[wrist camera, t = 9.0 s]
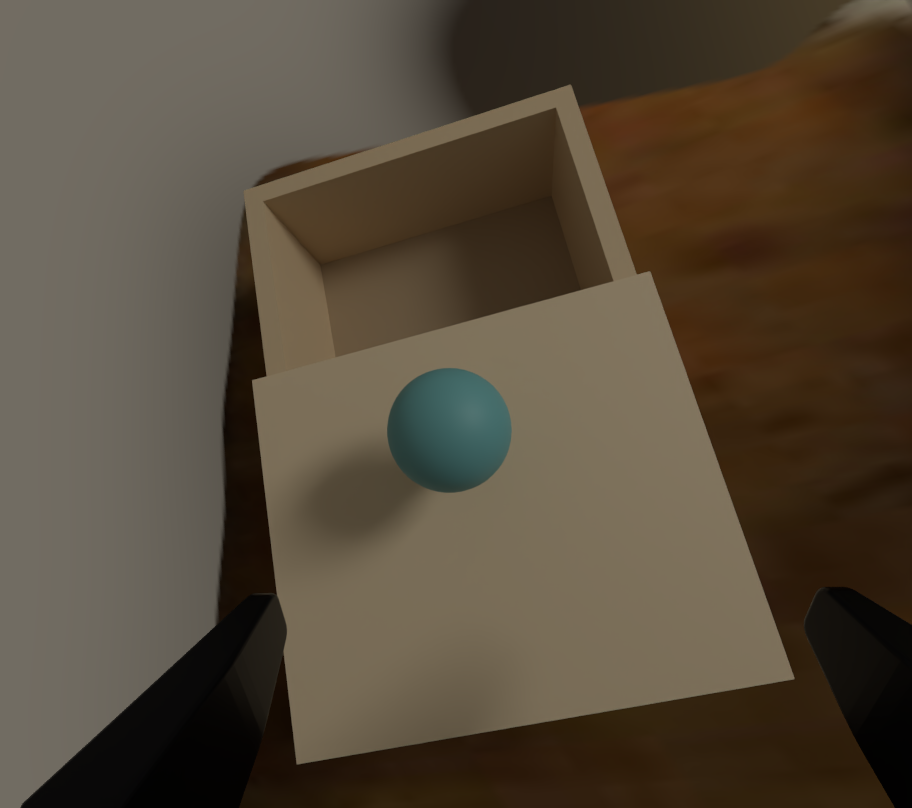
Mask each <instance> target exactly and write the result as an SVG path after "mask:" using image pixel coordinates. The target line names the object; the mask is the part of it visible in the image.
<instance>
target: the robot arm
mask: <svg viewBox="0 0 912 808" xmlns="http://www.w3.org/2000/svg"><path fill="white" fill-rule="evenodd" d="M804 629H805V633H806V636H807V639H808V641H809V643H810V645H811V647H812V649H813V651H814V654H815V656H816V658H817V660H818V662H819V664H820V666H821V668H822V670H823V673H824V675H825V677H826V679H827V681H828V683H829V685H830V687H831V690H832V692H833V694H834V696H835V698H836V700H837V702H838V704H839V707H840V709H841V711H842V713H843V715H844V717H845V719H846V721H847V723H848V725H849V727H850V729H851V731H852V733H853V735H854V737H855V739H856V741H857V742H858V744H859V746H860V748H861V750H862V752H863V753H864V755H865V757H866V759H867V760H868V762H869V764H870V765H871V767H872V769H873V771H874V772H875V774H876V776H877V778H878V779H879V781H880V783H881V784H882V786H883V788H884V790H885V791H886V793H887V795H888V796H889V798H890V800H891V802H892V803H893V805H894V807H895V808H912V625H911V624H909V623H908V622H906V621H904V620H903V619H901V618H899V617H898V616H896V615H894V614H893V613H891V612H889V611H888V610H886V609H885V608H883V607H881V606H880V605H878V604H876V603H875V602H873V601H871V600H870V599H868V598H866V597H865V596H863V595H862V594H860V593H858V592H857V591H855V590H853V589H850V588H847V587H823V588H820V589H819V590H818V591H817V592H816V594H815V596H814V599H813V601H812V603H811V605H810V608H809V610H808V612H807V615H806V617H805V620H804ZM286 637H287V625H286V621H285V618H284V614H283V611H282V608H281V605H280V601H279V598H278V596H277V595H276V594H274V593H255V594H252V595H250V596H248V597H247V598H246V599H245V600H244V601H243V602H241V603H240V604H239V605H238V606H237V607H236V608H235V609H234V610H233V611H232V612H231V613H229V614H228V615H227V616H226V617H225V618H224V619H223V620H222V621H221V622H220V623H219V624H217V625H216V626H215V627H214V628H213V629H212V630H211V631H210V632H209V633H208V634H207V635H206V636H204V637H203V638H202V639H201V640H200V641H199V642H198V643H197V644H196V645H195V646H194V647H193V648H191V649H190V650H189V651H188V652H187V653H186V654H185V655H184V656H183V657H182V658H181V659H180V660H178V661H177V662H176V663H175V664H174V665H173V666H172V667H171V668H170V669H168V670H167V671H166V672H165V673H164V674H163V675H162V676H161V677H160V678H159V679H158V680H157V681H155V682H154V683H153V684H152V685H151V686H150V687H149V688H148V689H147V690H146V691H144V692H143V693H142V694H141V695H140V696H139V697H138V698H137V699H136V700H135V701H134V702H133V703H132V704H130V706H128V707H127V708H126V709H125V710H124V711H123V712H122V713H121V714H119V715H118V716H117V717H116V718H115V719H114V720H113V721H112V722H111V723H110V724H109V725H107V726H106V727H105V728H104V729H103V730H102V731H101V732H100V733H99V734H98V735H97V736H96V737H94V738H93V739H92V740H91V741H90V742H89V743H88V744H87V745H86V746H85V747H84V748H82V749H81V750H80V751H79V752H78V753H77V754H76V755H75V756H74V757H73V758H72V759H70V760H69V761H68V762H67V763H66V764H65V765H64V766H63V767H62V768H61V769H60V770H59V771H57V772H56V773H55V774H54V775H53V776H52V777H51V778H50V779H49V780H48V781H46V782H45V783H44V784H43V785H42V786H41V787H40V788H39V789H38V790H37V791H36V792H35V793H33V794H32V795H31V796H30V797H29V798H28V799H27V800H26V801H25V802H24V803H23V804H22V805H21V808H239V806H240V803H241V800H242V797H243V794H244V791H245V788H246V785H247V782H248V779H249V776H250V773H251V771H252V768H253V765H254V762H255V759H256V756H257V753H258V750H259V747H260V743H261V740H262V737H263V733H264V730H265V726H266V722H267V718H268V714H269V710H270V705H271V701H272V697H273V693H274V689H275V684H276V680H277V676H278V672H279V668H280V663H281V659H282V655H283V651H284V647H285V642H286Z"/></svg>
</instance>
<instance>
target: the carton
mask: <svg viewBox="0 0 912 808" xmlns="http://www.w3.org/2000/svg"><path fill="white" fill-rule="evenodd" d="M244 199H245V207H246V215H247V223H248V231H249V239H250V247H251V255H252V263H253V271H254V279H255V287H256V295H257V303H258V311H259V319H260V327H261V335H262V343H263V351H264V359H265V367H266V375H267V376H270V375H274V374H277V373H281V372H284V371H288V370H292V369H295V368H299V367H303V366H306V365H310V364H314V363H317V362H321V361H325V360H328V359H332V358H336V357H339V356H343V355H346V354H350V353H354V352H357V351H361V350H365V349H368V348H372V347H376V346H379V345H383V344H387V343H390V342H394V341H397V340H401V339H405V338H408V337H412V336H416V335H419V334H423V333H427V332H430V331H434V330H438V329H441V328H445V327H449V326H452V325H456V324H459V323H463V322H467V321H470V320H474V319H478V318H481V317H485V316H489V315H492V314H496V313H500V312H503V311H507V310H510V309H514V308H518V307H521V306H525V305H529V304H532V303H536V302H540V301H543V300H547V299H551V298H554V297H558V296H562V295H565V294H569V293H572V292H576V291H580V290H583V289H587V288H591V287H594V286H598V285H602V284H605V283H609V282H613V281H616V280H620V279H624V278H627V277H631V276H634V275H637V274H636V271H635V268H634V266H633V263H632V260H631V257H630V254H629V251H628V248H627V245H626V242H625V240H624V237H623V234H622V231H621V228H620V225H619V222H618V219H617V216H616V214H615V211H614V208H613V205H612V202H611V199H610V196H609V193H608V190H607V188H606V185H605V182H604V179H603V176H602V173H601V170H600V167H599V164H598V162H597V159H596V156H595V153H594V150H593V147H592V144H591V141H590V139H589V136H588V133H587V130H586V127H585V124H584V121H583V118H582V115H581V113H580V110H579V107H578V104H577V101H576V98H575V95H574V92H573V90H572V87H571V85H568V86H565V87H562V88H559V89H556V90H553V91H550V92H546V93H543V94H540V95H537V96H534V97H531V98H528V99H525V100H522V101H519V102H516V103H513V104H509V105H506V106H503V107H500V108H497V109H494V110H491V111H488V112H485V113H482V114H479V115H476V116H472V117H469V118H466V119H463V120H460V121H457V122H454V123H451V124H448V125H445V126H442V127H439V128H436V129H432V130H430V131H426V132H423V133H420V134H417V135H414V136H411V137H408V138H405V139H402V140H399V141H396V142H392V143H389V144H386V145H383V146H380V147H377V148H374V149H371V150H368V151H365V152H362V153H359V154H355V155H352V156H349V157H346V158H343V159H340V160H337V161H334V162H331V163H328V164H325V165H322V166H319V167H315V168H312V169H309V170H306V171H303V172H300V173H297V174H294V175H291V176H288V177H285V178H282V179H279V180H275V181H272V182H269V183H266V184H263V185H260V186H257V187H254V188H251V189H248V190H245V191H244Z"/></svg>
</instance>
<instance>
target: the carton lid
mask: <svg viewBox="0 0 912 808" xmlns="http://www.w3.org/2000/svg"><path fill="white" fill-rule="evenodd" d="M252 385H253V393H254V402H255V411H256V419H257V428H258V436H259V445H260V453H261V462H262V471H263V479H264V488H265V496H266V505H267V514H268V522H269V531H270V539H271V548H272V556H273V565H274V574H275V582H276V591H277V596H278V598H279V601H280V605H281V608H282V611H283V614H284V618H285V621H286V625H287V637H286V642H285V647H284V659H285V668H286V677H287V685H288V694H289V702H290V711H291V720H292V728H293V737H294V745H295V754H296V762H297V764H302V763H308V762H314V761H320V760H326V759H332V758H337V757H343V756H349V755H355V754H361V753H367V752H372V751H378V750H384V749H390V748H396V747H402V746H407V745H413V744H419V743H425V742H431V741H437V740H442V739H448V738H454V737H460V736H466V735H472V734H477V733H483V732H489V731H495V730H501V729H507V728H512V727H518V726H524V725H530V724H536V723H542V722H547V721H553V720H559V719H565V718H571V717H577V716H582V715H588V714H594V713H600V712H606V711H612V710H617V709H623V708H629V707H635V706H641V705H647V704H652V703H658V702H664V701H670V700H676V699H681V698H687V697H693V696H699V695H705V694H711V693H716V692H722V691H728V690H734V689H740V688H746V687H751V686H757V685H763V684H769V683H775V682H781V681H786V680H792V679H795V678H794V676H793V673H792V670H791V667H790V664H789V662H788V659H787V656H786V653H785V650H784V647H783V645H782V642H781V639H780V636H779V633H778V631H777V628H776V625H775V622H774V619H773V616H772V614H771V611H770V608H769V605H768V602H767V600H766V597H765V594H764V591H763V588H762V585H761V583H760V580H759V577H758V574H757V571H756V569H755V566H754V563H753V560H752V557H751V554H750V552H749V549H748V546H747V543H746V540H745V538H744V535H743V532H742V529H741V526H740V523H739V521H738V518H737V515H736V512H735V509H734V507H733V504H732V501H731V498H730V495H729V492H728V490H727V487H726V484H725V481H724V478H723V476H722V473H721V470H720V467H719V464H718V461H717V459H716V456H715V453H714V450H713V447H712V445H711V442H710V439H709V436H708V433H707V430H706V428H705V425H704V422H703V419H702V416H701V414H700V411H699V408H698V405H697V402H696V399H695V397H694V394H693V391H692V388H691V385H690V383H689V380H688V377H687V374H686V371H685V368H684V366H683V363H682V360H681V357H680V354H679V352H678V349H677V346H676V343H675V340H674V337H673V335H672V332H671V329H670V326H669V323H668V321H667V318H666V315H665V312H664V309H663V306H662V304H661V301H660V298H659V295H658V292H657V290H656V287H655V284H654V281H653V278H652V276H651V273H650V271H649V272H645V273H642V274H638V275H634V276H631V277H627V278H624V279H620V280H616V281H613V282H609V283H605V284H602V285H598V286H594V287H591V288H587V289H583V290H580V291H576V292H572V293H569V294H565V295H562V296H558V297H554V298H551V299H547V300H543V301H540V302H536V303H532V304H529V305H525V306H521V307H518V308H514V309H510V310H507V311H503V312H500V313H496V314H492V315H489V316H485V317H481V318H478V319H474V320H470V321H467V322H463V323H459V324H456V325H452V326H449V327H445V328H441V329H438V330H434V331H430V332H427V333H423V334H419V335H416V336H412V337H408V338H405V339H401V340H397V341H394V342H390V343H387V344H383V345H379V346H376V347H372V348H368V349H365V350H361V351H357V352H354V353H350V354H346V355H343V356H339V357H336V358H332V359H328V360H325V361H321V362H317V363H314V364H310V365H306V366H303V367H299V368H295V369H292V370H288V371H284V372H281V373H277V374H274V375H270V376H266V377H263V378H259V379H255V380H252Z"/></svg>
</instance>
